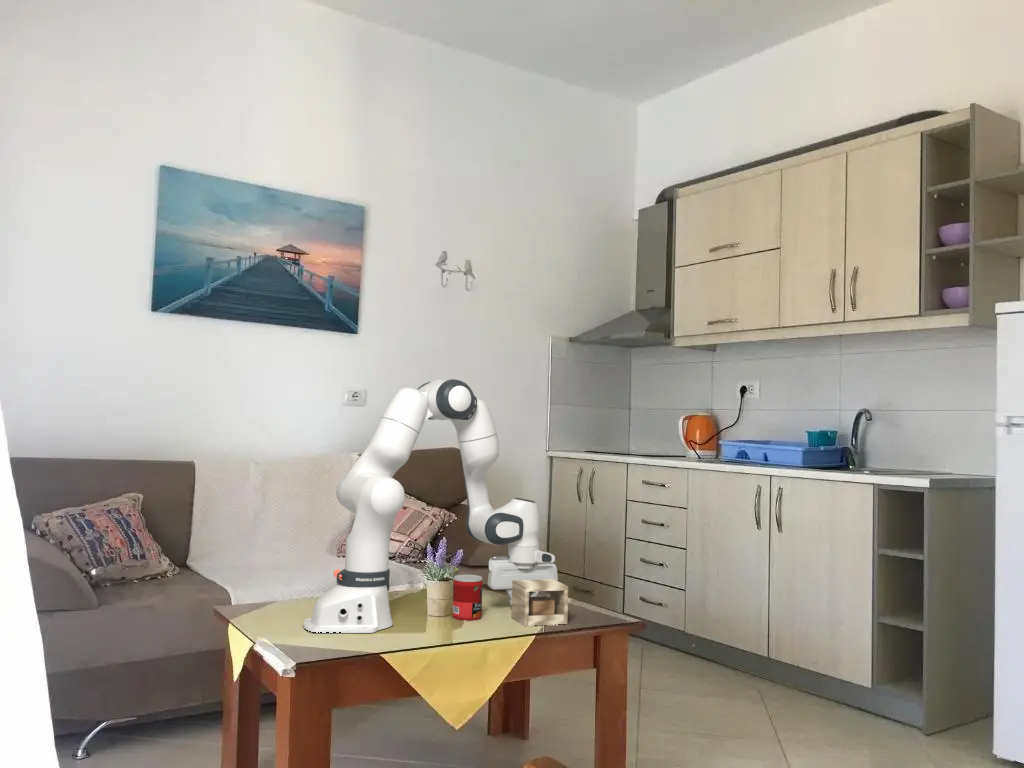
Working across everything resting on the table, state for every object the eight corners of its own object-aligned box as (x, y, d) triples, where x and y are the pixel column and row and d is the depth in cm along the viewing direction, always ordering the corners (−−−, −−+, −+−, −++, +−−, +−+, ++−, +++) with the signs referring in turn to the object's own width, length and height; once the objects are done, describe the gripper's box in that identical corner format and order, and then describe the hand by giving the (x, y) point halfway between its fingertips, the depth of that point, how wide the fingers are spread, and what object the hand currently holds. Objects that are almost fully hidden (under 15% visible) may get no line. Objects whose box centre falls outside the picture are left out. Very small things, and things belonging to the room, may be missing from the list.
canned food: (477, 622, 226) (479, 580, 227) (448, 619, 228) (450, 578, 229) (484, 616, 234) (485, 575, 234) (456, 614, 235) (457, 573, 236)
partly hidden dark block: (532, 624, 225) (533, 601, 225) (509, 609, 244) (510, 587, 244) (554, 623, 227) (554, 600, 227) (529, 608, 245) (530, 587, 246)
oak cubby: (524, 626, 222) (525, 587, 223) (511, 617, 233) (512, 580, 233) (567, 624, 226) (568, 586, 227) (552, 615, 236) (553, 579, 237)
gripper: (491, 557, 237) (490, 608, 237) (560, 556, 244) (559, 605, 243) (485, 554, 243) (484, 603, 242) (552, 553, 250) (551, 600, 249)
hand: (522, 604), depth 243 cm, fingers closed on partly hidden dark block, 4 cm apart
